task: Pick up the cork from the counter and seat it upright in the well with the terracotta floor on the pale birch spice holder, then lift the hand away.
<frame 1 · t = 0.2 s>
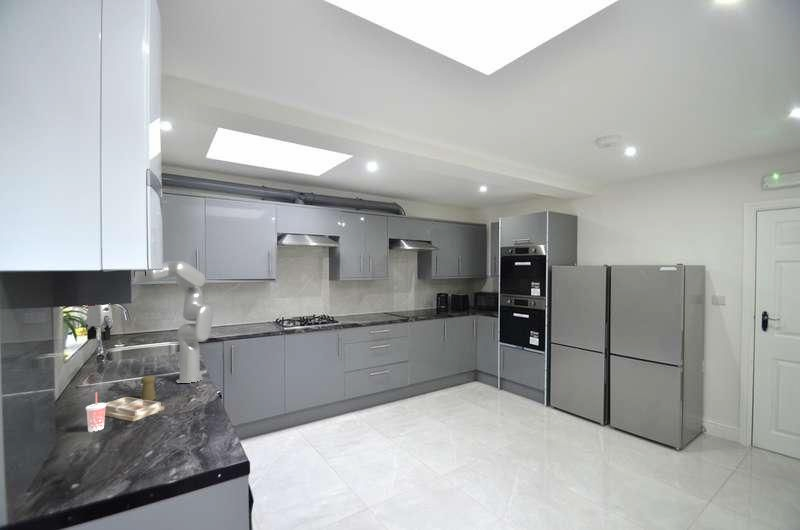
hand: (98, 339, 156), 31 cm above the countertop, tool pointing down, fingers open, 9 cm apart
cork: (148, 400, 168), on the countertop
spice holder: (130, 411, 153), on the countertop
beverage cup: (96, 429, 136), on the countertop
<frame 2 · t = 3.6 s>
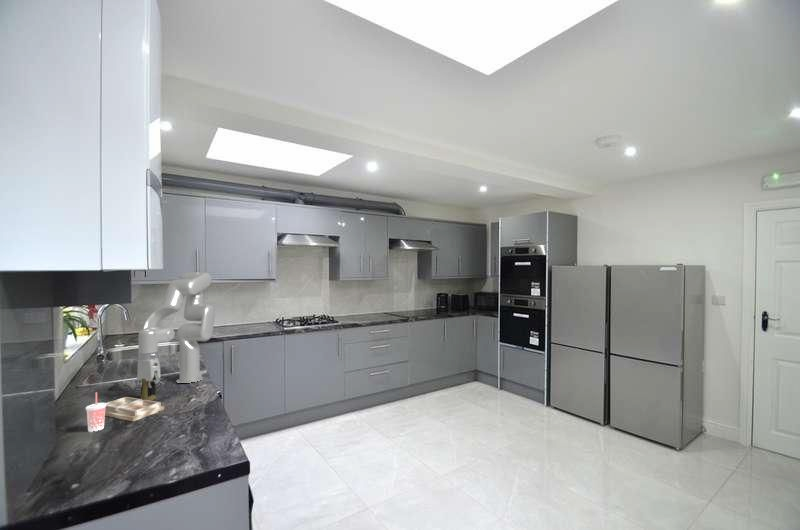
hand: (148, 394, 168), 2 cm above the countertop, tool pointing down, fingers closed on cork, 4 cm apart
cork: (148, 400, 168), on the countertop, touching gripper
everything else where it was.
when the fingers open (5 cm above the countertop, at t = 10.1 s): cork drops 1 cm, resting on spice holder.
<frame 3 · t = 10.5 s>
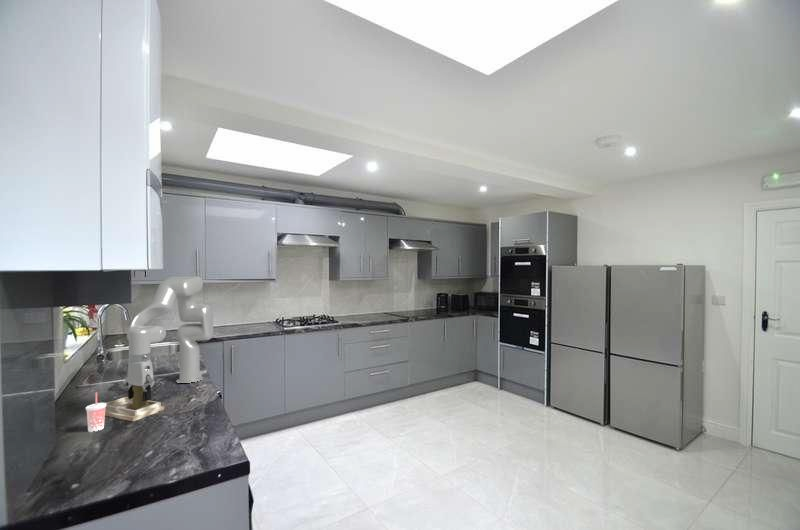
hand: (139, 399, 151), 6 cm above the countertop, tool pointing down, fingers open, 8 cm apart
cork: (139, 409, 151), point 2 cm above the countertop, touching spice holder
everything else where it was.
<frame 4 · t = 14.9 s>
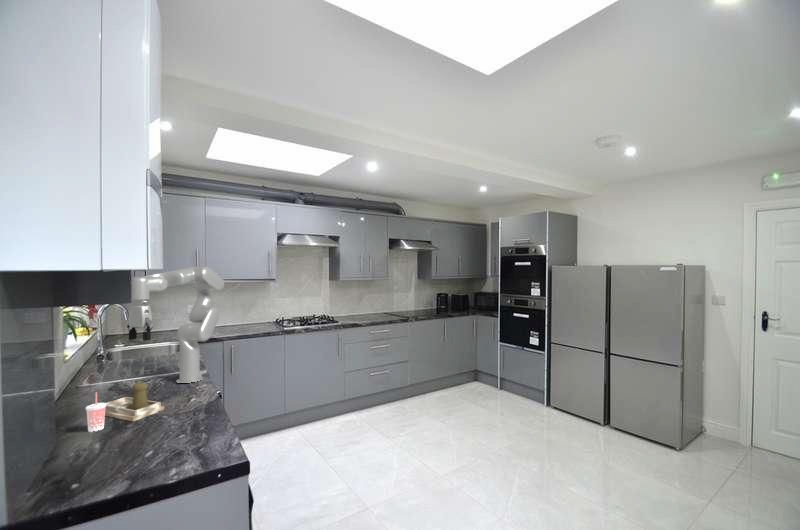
hand: (139, 339, 168), 28 cm above the countertop, tool pointing down, fingers open, 9 cm apart
nothing on the countertop moved.
at the end: cork 0.2 cm from the target spot on the spice holder, point 1.5 cm above the spice holder's base; cork tilted 0°; the gripper is holding nothing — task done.
